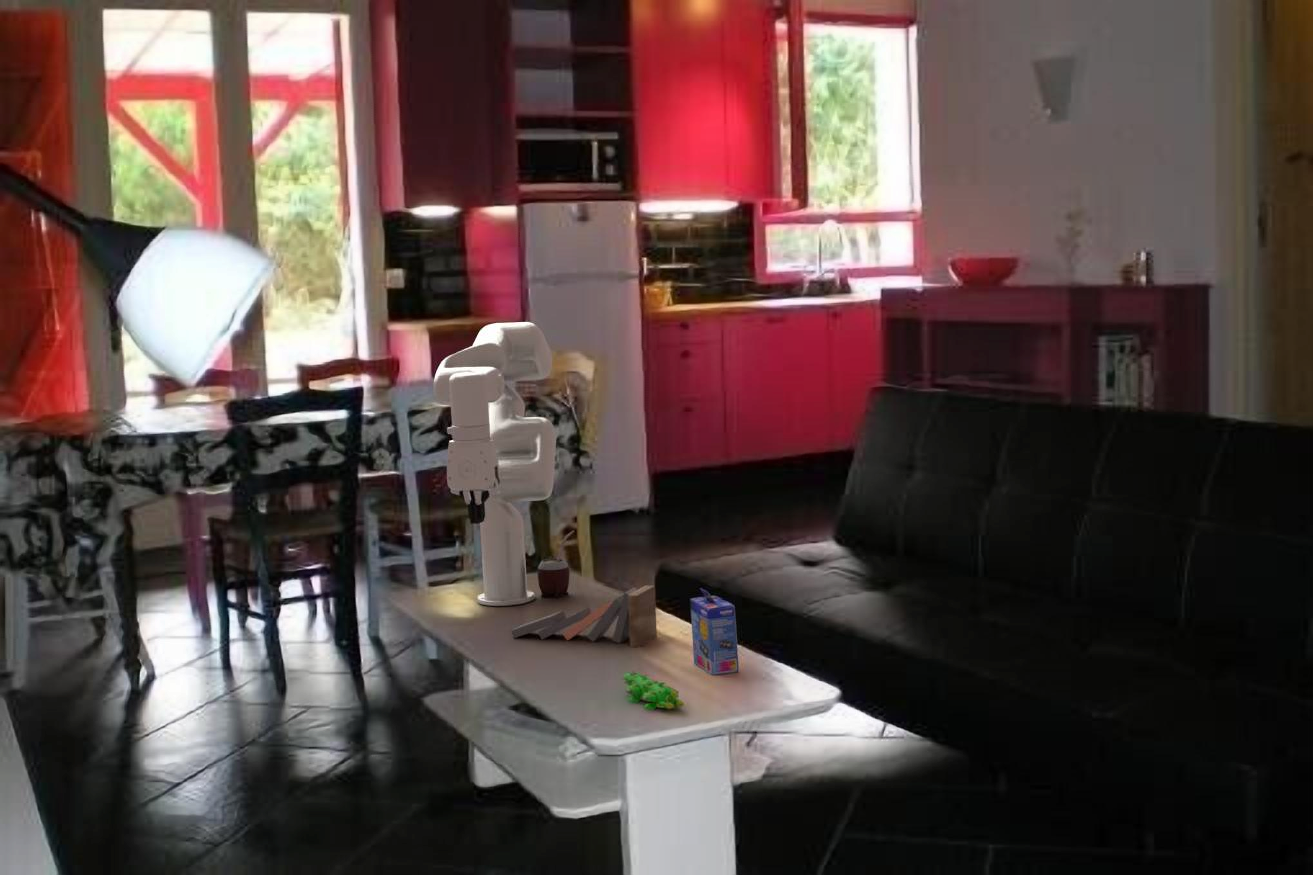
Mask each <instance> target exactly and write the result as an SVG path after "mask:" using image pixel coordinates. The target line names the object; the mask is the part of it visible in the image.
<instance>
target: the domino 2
mask: <svg viewBox="0 0 1313 875" xmlns="http://www.w3.org/2000/svg"><path fill="white" fill-rule="evenodd" d="M592 612H593V611H591V608H590V606H587V607H585V608H583V609H581V610H579V611H577V612H575V613H573V614H571V615H569V616H567V617H566V618H565V619H563V620H561V621H560V622H558V623H556V624H553V625H550V626H547V627H545V628H542V629H541V630H540V631H538V632H537V633H538V636H539V637H540V638H541V640H544V639H547V638H548V637H550V636H552V635H554V634H556V633H557V632H560V631H562V630H563V629H564V630H565V629H566V628H569V627H570V626H572V625H575V624H577V623H578V622H580V621H581V620H582V619H584V618H585V617H587V616H588V615H589V614H591V613H592Z"/></svg>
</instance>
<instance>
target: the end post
mask: <svg viewBox="0 0 1313 875" xmlns="http://www.w3.org/2000/svg"><path fill="white" fill-rule="evenodd" d="M637 589H638V590H636V591H634V592H633V593H631V594H629V595H628V609H629V630H630V637H629V644H630V646H629V647H630V648H631V647H632V648H633V647H634V648H635V647H636V648H641V647H642V646H644V645H646V644H647V643H649V641H651V640H653V639H655V638H656V637H657V636H658V635H657V634H658V630H657V612H656V611H657V610H656V609H657V608H656V590H655V589H656V588H655V585H644V586H642V587H640V588H637ZM655 636H656V637H655Z"/></svg>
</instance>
